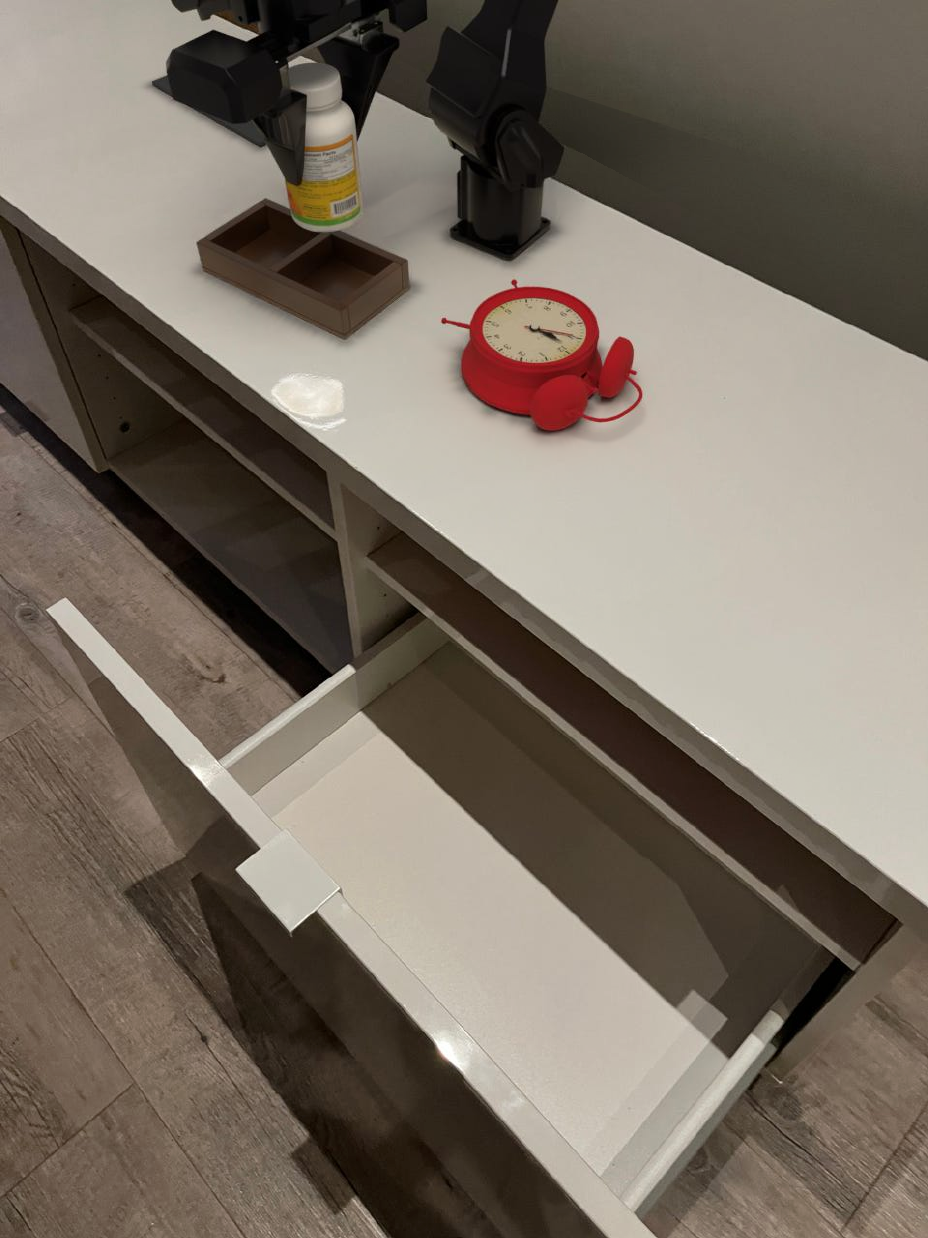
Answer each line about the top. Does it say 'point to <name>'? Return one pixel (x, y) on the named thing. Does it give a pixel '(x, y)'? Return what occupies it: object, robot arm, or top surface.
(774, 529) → the top surface
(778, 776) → the top surface
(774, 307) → the top surface
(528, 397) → the alarm clock
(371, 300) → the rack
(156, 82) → the mat
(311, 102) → the supplement bottle
